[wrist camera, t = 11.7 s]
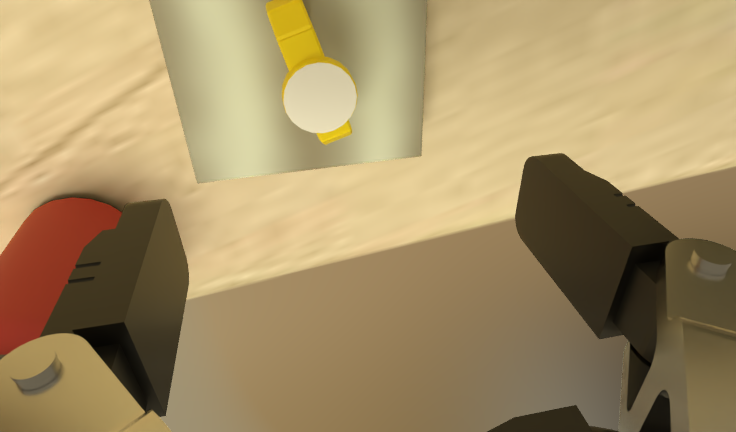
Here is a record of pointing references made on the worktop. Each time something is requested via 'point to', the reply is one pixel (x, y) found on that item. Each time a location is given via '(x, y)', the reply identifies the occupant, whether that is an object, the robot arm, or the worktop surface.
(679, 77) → the worktop surface
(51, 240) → the beer can
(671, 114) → the worktop surface
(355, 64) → the block
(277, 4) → the watch
